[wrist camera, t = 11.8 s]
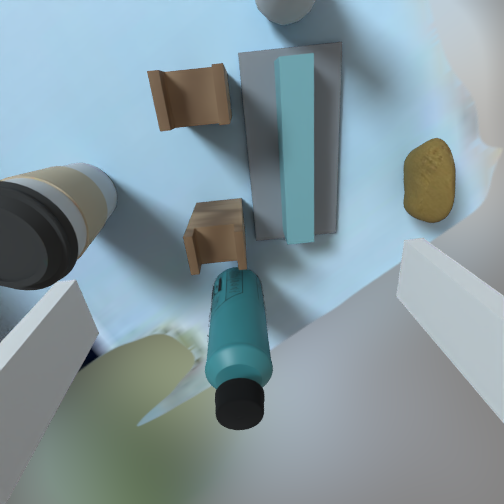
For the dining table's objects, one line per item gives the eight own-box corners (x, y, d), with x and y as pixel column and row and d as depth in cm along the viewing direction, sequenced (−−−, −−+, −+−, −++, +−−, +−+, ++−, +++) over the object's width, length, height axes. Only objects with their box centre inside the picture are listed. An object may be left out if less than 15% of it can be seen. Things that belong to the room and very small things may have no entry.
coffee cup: (113, 147, 33) (29, 182, 20) (137, 224, 37) (81, 295, 24) (31, 158, 34) (-105, 199, 20) (64, 233, 38) (-31, 309, 24)
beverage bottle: (218, 255, 40) (202, 384, 22) (267, 264, 41) (290, 394, 23) (210, 296, 43) (190, 439, 25) (256, 303, 44) (269, 446, 26)
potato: (407, 215, 38) (446, 242, 31) (366, 180, 36) (397, 200, 29) (453, 170, 36) (506, 188, 29) (412, 129, 34) (459, 137, 27)
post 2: (202, 233, 38) (191, 275, 29) (196, 202, 37) (183, 237, 28) (244, 229, 38) (247, 269, 29) (241, 198, 37) (242, 231, 28)
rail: (282, 230, 38) (287, 244, 34) (274, 61, 30) (279, 56, 26) (306, 228, 38) (314, 241, 34) (304, 58, 30) (313, 52, 26)
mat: (256, 238, 39) (256, 240, 38) (238, 53, 30) (238, 52, 29) (334, 230, 39) (335, 232, 38) (340, 42, 30) (342, 41, 29)
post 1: (181, 121, 32) (160, 131, 24) (173, 78, 31) (147, 71, 22) (232, 116, 32) (229, 123, 24) (227, 72, 31) (222, 63, 22)
